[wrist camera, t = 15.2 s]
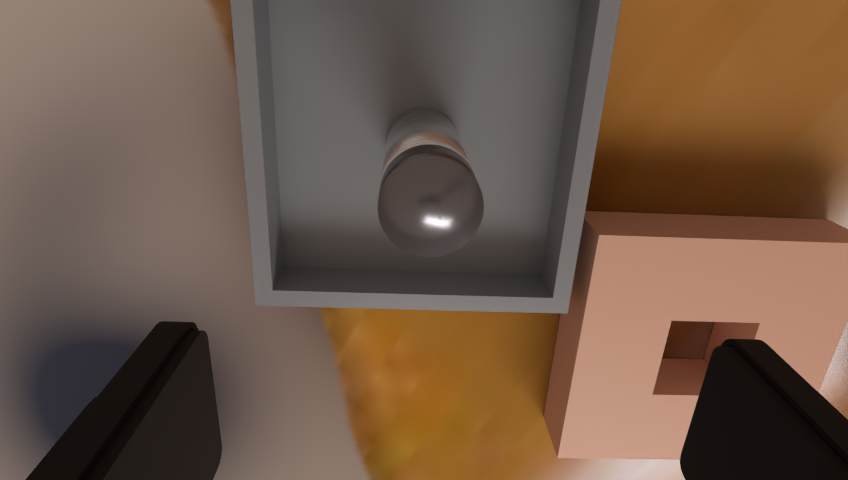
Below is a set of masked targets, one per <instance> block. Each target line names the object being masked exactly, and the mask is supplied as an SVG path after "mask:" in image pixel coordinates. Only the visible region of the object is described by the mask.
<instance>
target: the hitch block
mask: <svg viewBox="0 0 848 480" xmlns="http://www.w3.org/2000/svg"><path fill="white" fill-rule="evenodd" d="M847 320H848V229H846V228H844V227H842V226H840V225H838V224H836V223H834V222H832V221H830V220H827V219H804V218H776V217H747V216H718V215H690V214H661V213H633V212H604V211H585V215H584V221H583V227H582V233H581V238H580V244H579V250H578V256H577V262H576V267H575V273H574V279H573V285H572V291H571V296H570V302H569V308H568V314H565V313H561V314H560V320H559V326H558V332H557V338H556V344H555V350H554V356H553V362H552V368H551V374H550V380H549V386H548V392H547V398H546V404H545V410H544V416H543V417H544V420H545V423H546V426H547V428H548V431H549V434H550V437H551V440H552V443H553V446H554V449H555V452H556V455H557V458H603V459H678V460H680V456H681V452H682V449H683V445H684V442H685V439H686V436H687V432H688V429H689V426H690V423H691V419H692V416H693V413H694V410H695V406H696V403H697V400H698V397H699V393H700V390H701V387H702V384H703V380H704V377H705V374H706V371H707V367H708V364H709V361H710V358H711V354H712V352H713V350H714V349H715V348H716V347H717V346H721V344H722V343H723V342H724V341H725V340H726V339H758V340H762V341H764V342H765V343H767V344H768V345H769V346H770V347H771V348H772V349H773V350H774V351H775V352H776V353H777V354H778V355H779V356H780V357H781V358H782V359H784V360H785V361H786V362H787V363H788V364H789V365H790V366H791V367H792V368H793V369H794V370H795V371H796V372H797V373H798V374H799V375H801V376H802V377H803V378H804V379H805V380H806V381H807V382H808V383H809V384H810V385H811V386H812V387H813V388H814V389H815V390H816V391H818V392H819V389H820V387H821V384H822V382H823V379H824V377H825V375H826V372H827V370H828V367H829V365H830V362H831V360H832V357H833V355H834V352H835V350H836V347H837V345H838V342H839V340H840V338H841V335H842V333H843V330H844V328H845V325H846V323H847ZM671 321H703V322H714V325H713V329H712V332H711V335H710V339H709V342H708V346H707V349H706V352H705V356H704V359H677V358H662V356H663V352H664V348H665V344H666V341H667V337H668V333H669V329H670V325H671Z"/></svg>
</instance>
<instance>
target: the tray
mask: <svg viewBox="0 0 848 480" xmlns="http://www.w3.org/2000/svg"><path fill="white" fill-rule="evenodd" d="M621 1H622V0H230V4H231V16H232V28H233V40H234V51H235V63H236V75H237V87H238V99H239V111H240V123H241V134H242V147H243V159H244V171H245V183H246V195H247V207H248V219H249V230H250V242H251V254H252V267H253V278H254V290H255V302H256V305H257V306H295V307H298V306H299V307H334V308H372V309H411V310H449V311H488V312H526V313H565V314H568V308H569V302H570V296H571V291H572V285H573V279H574V273H575V267H576V262H577V256H578V250H579V244H580V238H581V233H582V227H583V221H584V215H585V209H586V204H587V198H588V192H589V186H590V181H591V175H592V169H593V163H594V157H595V152H596V146H597V140H598V134H599V128H600V123H601V117H602V111H603V105H604V99H605V94H606V88H607V82H608V76H609V70H610V65H611V59H612V53H613V47H614V41H615V36H616V30H617V24H618V18H619V12H620V7H621ZM415 108H430V109H434V110H436V111H439V112H440V113H442V114H443V115H445V116H446V117H447V118H448V119H449V120H450V121H451V123H452V124H453V126H454V128H455V130H456V133H457V135H458V137H459V140H460V142H461V144H462V147H463V149H464V151H465V154H466V156H467V158H468V161H469V163H470V165H471V168H472V170H473V172H474V175H475V177H476V179H477V182H478V184H479V186H480V189H481V191H482V195H483V201H484V212H483V218H482V221H481V224H480V226H479V228H478V230H477V232H476V233H475V235H474V236H473V237H472V239H471V240H470V241H469V242H468V243H467V244H466V245H464V246H463V247H462V248H460V249H458V250H457V251H455V252H453V253H450V254H448V255H444V256H439V257H420V256H416V255H412V254H410V253H407V252H405V251H403V250H401V249H400V248H398V247H397V246H396V245H395V244H393V243H392V242H391V241H390V239H389V238H388V237H387V236H386V234H385V233H384V231H383V229H382V227H381V224H380V221H379V217H378V208H377V206H378V197H379V190H380V184H381V177H382V170H383V163H384V156H385V150H386V143H387V137H388V132H389V130H390V128H391V126H392V124H393V123H394V121H395V120H396V119H397V118H398V117H399V116H400V115H401V114H403V113H405V112H406V111H409V110H411V109H415Z"/></svg>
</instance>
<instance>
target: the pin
mask: <svg viewBox="0 0 848 480" xmlns="http://www.w3.org/2000/svg"><path fill="white" fill-rule="evenodd" d="M377 208H378V217H379V221H380V224H381V227H382V229H383V231H384V233H385V234H386V236H387V237H388V238H389V239H390V241H391V242H392V243H393V244H395V245H396V246H397V247H398V248H400V249H401V250H403V251H405V252H407V253H410V254H412V255H416V256H420V257H439V256H444V255H448V254H450V253H453V252H455V251H457V250H458V249H460V248H462V247H463V246H464V245H466V244H467V243H468V242H469V241H470V240H471V239H472V237H473V236H474V235H475V233H476V232H477V230H478V228H479V226H480V224H481V221H482V218H483V212H484V201H483V195H482V191H481V189H480V186H479V184H478V182H477V179H476V177H475V175H474V172H473V170H472V168H471V165H470V163H469V161H468V158H467V156H466V154H465V151H464V149H463V147H462V144H461V142H460V140H459V137H458V135H457V133H456V130H455V128H454V126H453V124H452V123H451V121H450V120H449V119H448V118H447V117H446V116H445V115H443V114H442V113H440V112H439V111H436V110H434V109H430V108H415V109H411V110H409V111H406V112H405V113H403V114H401V115H400V116H399V117H398V118H397V119H396V120H395V121H394V123H393V124H392V126H391V128H390V130H389V132H388V137H387V143H386V150H385V156H384V163H383V170H382V177H381V184H380V190H379V197H378V206H377Z"/></svg>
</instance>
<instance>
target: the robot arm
mask: <svg viewBox="0 0 848 480" xmlns="http://www.w3.org/2000/svg"><path fill="white" fill-rule="evenodd" d="M221 451H222V443H221V436H220V428H219V420H218V413H217V405H216V397H215V390H214V382H213V374H212V367H211V358H210V351H209V343H208V337H207V334H206V332H205V331H198V328H197V326H196V324H195V323H193V322H166V321H163V322H159V323H158V324H157V325H156V326H155V327H154V328H153V329H152V331H151V332H150V333H149V334H148V336H147V337H146V338H145V339H144V341H143V342H142V343H141V344H140V345H139V347H138V348H137V349H136V350H135V351H134V353H133V354H132V355H131V356H130V358H129V359H128V360H127V361H126V362H125V364H124V365H123V366H122V367H121V369H120V370H119V371H118V372H117V373H116V375H115V376H114V377H113V378H112V380H111V381H110V382H109V383H108V384H107V386H106V387H105V388H104V389H103V391H102V392H101V393H100V394H99V395H98V396H97V397H95V398H94V399H93V400H92V401H91V402H90V403H89V404H88V405H87V406H86V407H85V409H84V410H83V411H82V412H81V413H80V415H79V416H78V417H77V418H76V419H75V421H74V422H73V423H72V424H71V425H70V427H69V428H68V429H67V430H66V431H65V433H64V434H63V435H62V436H61V438H60V439H59V440H58V441H57V442H56V444H55V445H54V446H53V447H52V448H51V450H50V451H49V452H48V453H47V455H46V456H45V457H44V458H43V459H42V461H41V462H40V463H39V464H38V465H37V467H36V468H35V469H34V470H33V471H32V473H31V474H30V475H29V476H28V478H27V479H26V480H213V478H214V476H215V473H216V471H217V468H218V466H219V463H220V459H221ZM680 465H681V470H682V473H683V475H684V478H685V479H686V480H848V420H847V419H846V418H845V417H844V416H843V415H842V414H841V413H840V412H839V411H838V410H837V409H836V408H835V407H833V406H832V405H831V404H830V403H829V402H828V401H827V400H826V399H825V398H824V397H823V396H822V395H821V394H820V393H819V392H818V391H816V390H815V389H814V388H813V387H812V386H811V385H810V384H809V383H808V382H807V381H806V380H805V379H804V378H803V377H802V376H801V375H799V374H798V373H797V372H796V371H795V370H794V369H793V368H792V367H791V366H790V365H789V364H788V363H787V362H786V361H785V360H784V359H782V358H781V357H780V356H779V355H778V354H777V353H776V352H775V351H774V350H773V349H772V348H771V347H770V346H769V345H768V344H767V343H765V342H764V341H762V340H758V339H726V340H725V341H724V342H723V343H722V344H721V346H717V347H716V348H715V349H714V350H713V352H712V354H711V358H710V361H709V364H708V367H707V371H706V374H705V377H704V380H703V384H702V387H701V390H700V393H699V397H698V400H697V403H696V406H695V410H694V413H693V416H692V419H691V423H690V426H689V429H688V432H687V436H686V439H685V442H684V445H683V449H682V452H681V456H680Z"/></svg>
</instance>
